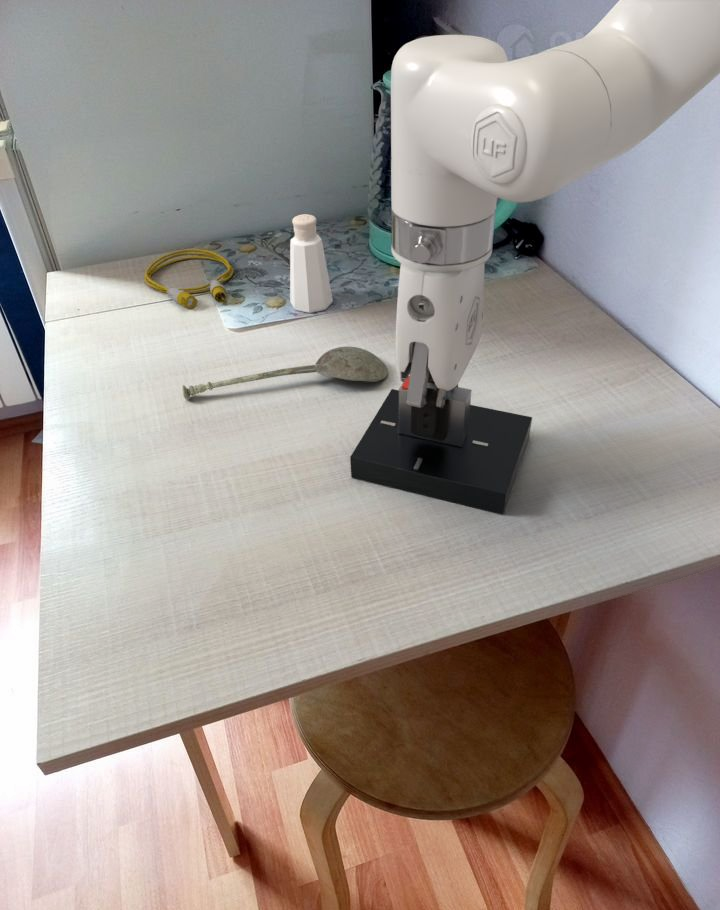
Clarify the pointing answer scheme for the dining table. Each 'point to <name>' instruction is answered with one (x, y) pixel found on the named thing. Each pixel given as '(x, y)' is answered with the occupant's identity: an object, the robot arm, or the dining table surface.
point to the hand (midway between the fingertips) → (433, 425)
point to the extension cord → (184, 294)
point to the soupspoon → (317, 369)
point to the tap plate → (445, 457)
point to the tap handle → (456, 414)
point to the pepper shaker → (308, 268)
